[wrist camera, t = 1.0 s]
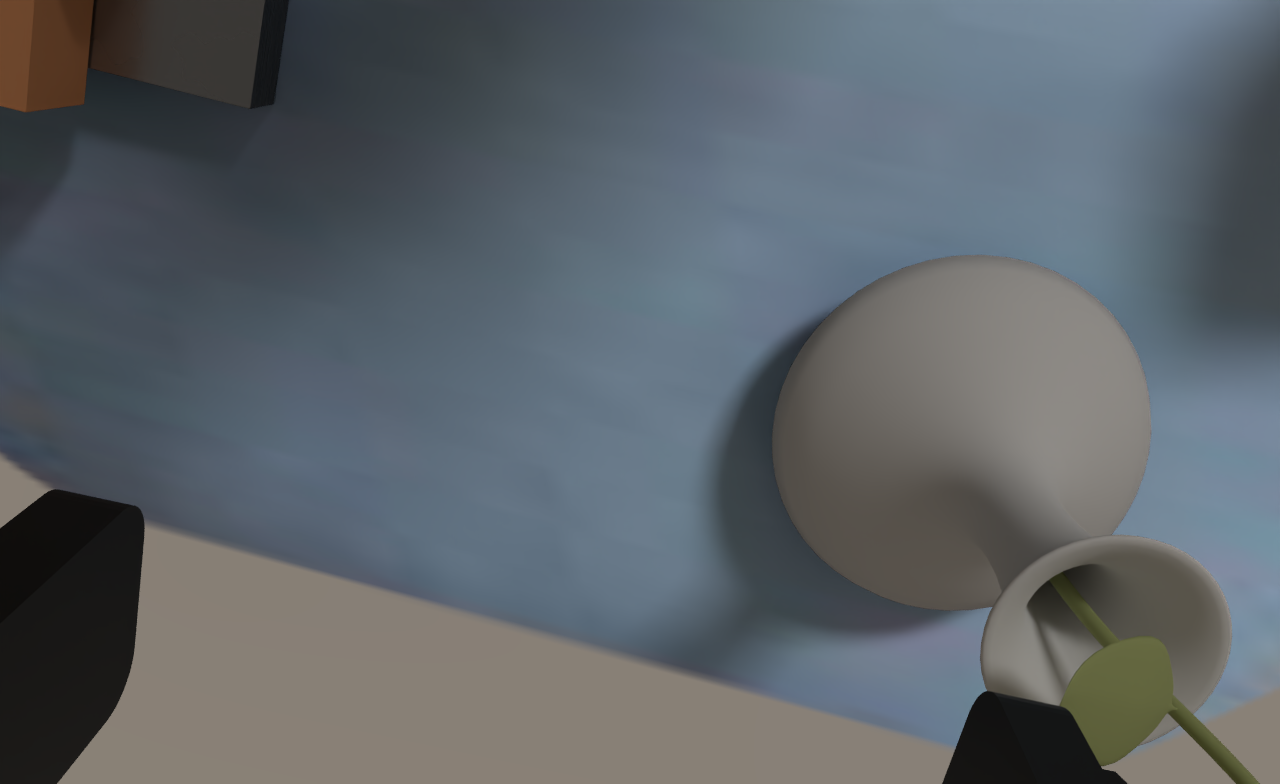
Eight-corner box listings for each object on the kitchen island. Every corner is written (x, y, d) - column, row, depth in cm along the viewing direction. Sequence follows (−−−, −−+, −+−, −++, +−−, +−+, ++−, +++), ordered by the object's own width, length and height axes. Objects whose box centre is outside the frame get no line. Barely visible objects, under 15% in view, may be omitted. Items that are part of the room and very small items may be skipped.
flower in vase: (697, 383, 36) (752, 1093, 12) (1010, 168, 33) (1845, 522, 10) (917, 675, 39) (1308, 1701, 15) (1218, 497, 37) (2238, 1377, 13)
